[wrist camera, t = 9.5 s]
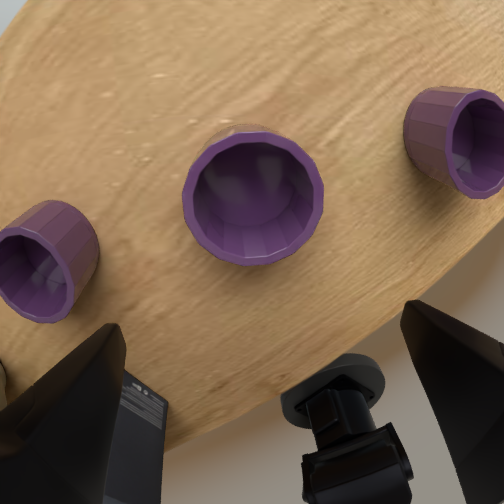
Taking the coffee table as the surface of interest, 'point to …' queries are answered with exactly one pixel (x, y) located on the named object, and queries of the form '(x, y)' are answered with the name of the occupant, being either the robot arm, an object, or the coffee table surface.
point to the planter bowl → (2, 388)
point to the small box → (137, 446)
